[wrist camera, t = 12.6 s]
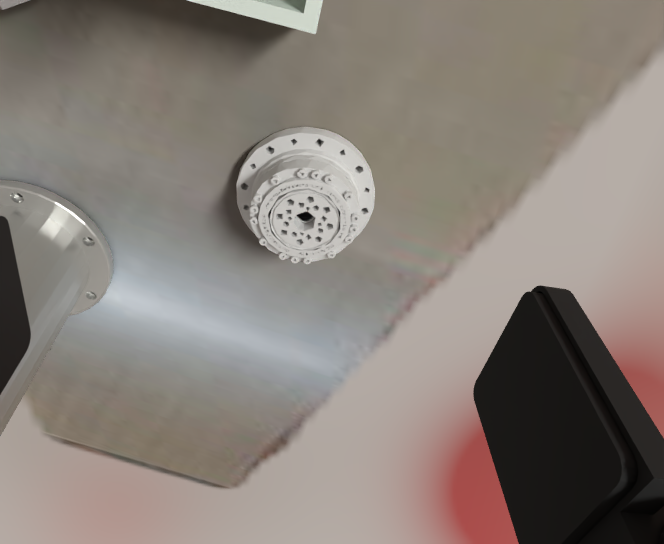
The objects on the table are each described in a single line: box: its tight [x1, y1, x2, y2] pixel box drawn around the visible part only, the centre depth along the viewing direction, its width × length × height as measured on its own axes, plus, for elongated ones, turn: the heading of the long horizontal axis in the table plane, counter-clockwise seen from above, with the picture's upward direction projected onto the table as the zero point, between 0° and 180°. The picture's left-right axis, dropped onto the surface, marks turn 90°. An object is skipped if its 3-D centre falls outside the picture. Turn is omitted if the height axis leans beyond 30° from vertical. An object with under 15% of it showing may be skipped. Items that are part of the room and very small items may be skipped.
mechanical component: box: [236, 127, 375, 264], centre depth 37 cm, size 10×4×10 cm
